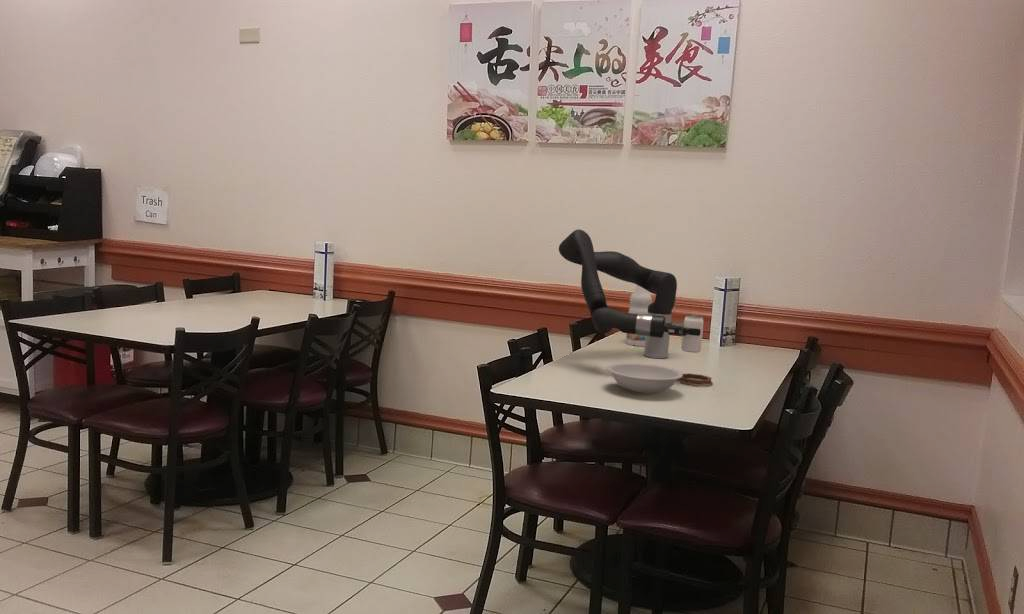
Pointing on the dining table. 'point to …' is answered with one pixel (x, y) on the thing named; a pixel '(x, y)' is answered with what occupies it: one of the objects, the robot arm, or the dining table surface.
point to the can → (692, 341)
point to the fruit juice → (638, 312)
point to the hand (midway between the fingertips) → (700, 331)
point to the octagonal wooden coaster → (695, 380)
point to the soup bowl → (644, 376)
